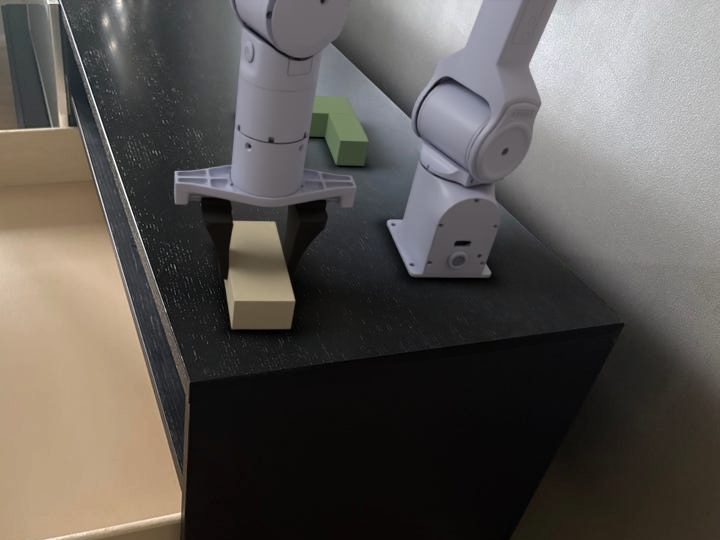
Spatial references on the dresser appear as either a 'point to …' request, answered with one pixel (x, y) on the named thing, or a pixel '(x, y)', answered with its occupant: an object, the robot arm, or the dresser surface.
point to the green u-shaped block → (339, 129)
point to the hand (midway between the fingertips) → (254, 273)
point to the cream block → (258, 278)
